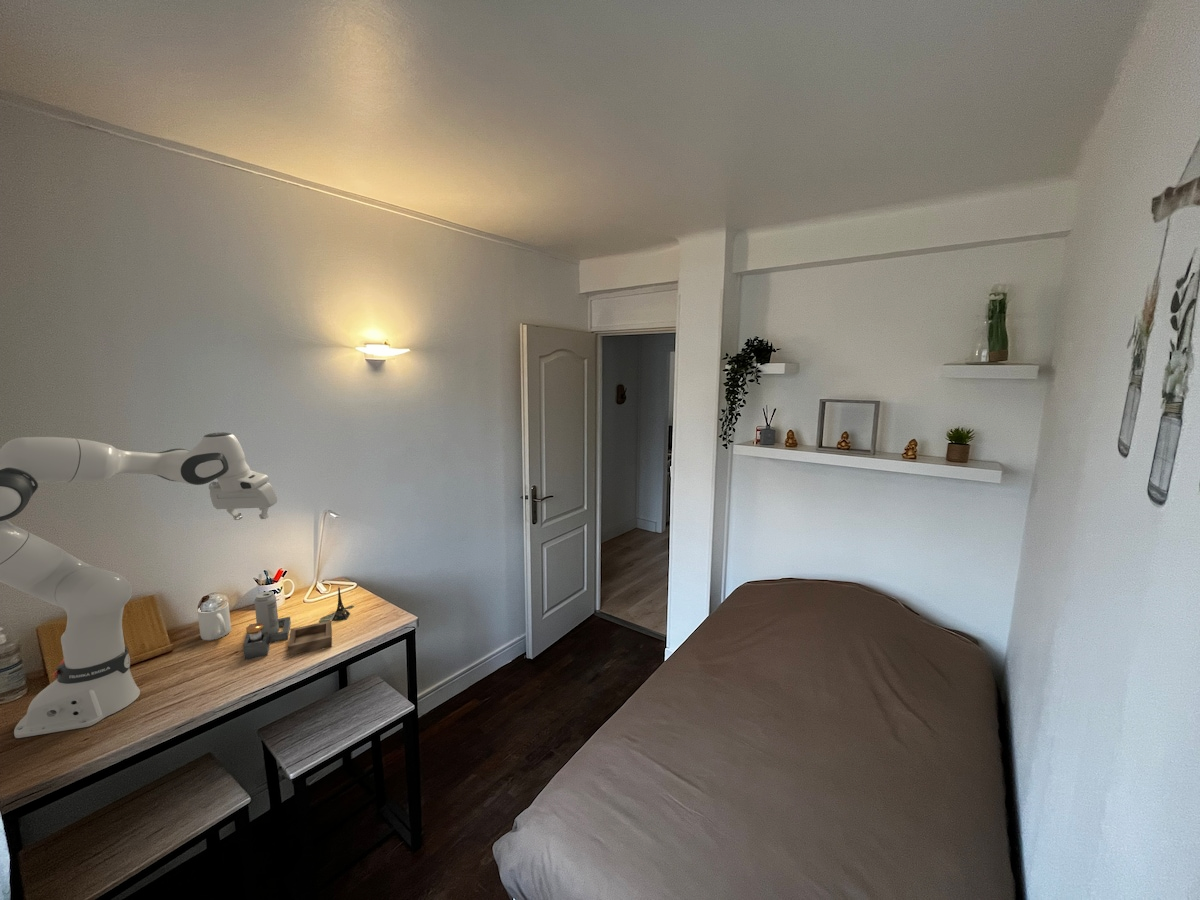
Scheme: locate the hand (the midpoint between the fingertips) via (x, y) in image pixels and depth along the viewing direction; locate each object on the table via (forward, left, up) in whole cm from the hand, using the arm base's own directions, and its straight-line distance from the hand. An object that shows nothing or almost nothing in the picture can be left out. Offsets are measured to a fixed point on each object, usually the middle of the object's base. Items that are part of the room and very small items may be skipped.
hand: (251, 518), depth 155 cm
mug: (-14, +8, -43) cm, 46 cm away
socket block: (+1, -3, -42) cm, 42 cm away
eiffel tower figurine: (+23, +4, -43) cm, 49 cm away
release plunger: (-1, -10, -39) cm, 40 cm away
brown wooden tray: (+14, -11, -42) cm, 46 cm away
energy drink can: (+1, +1, -43) cm, 43 cm away
